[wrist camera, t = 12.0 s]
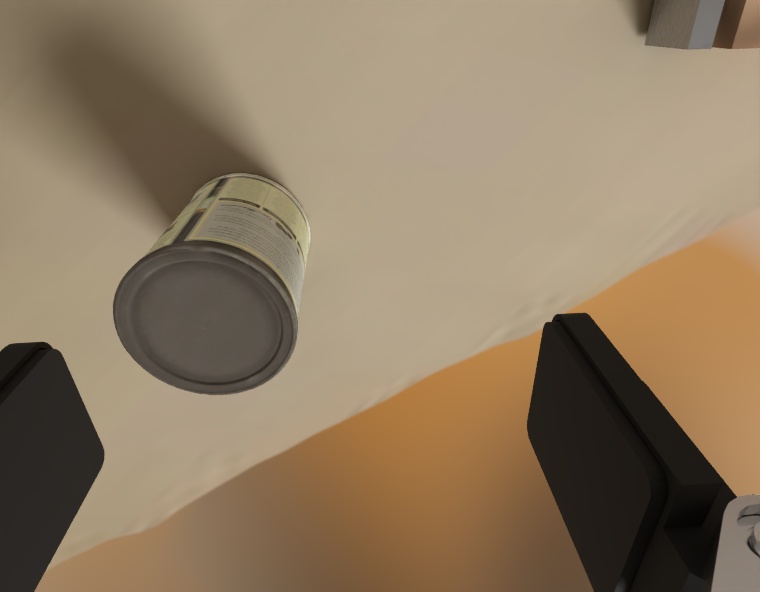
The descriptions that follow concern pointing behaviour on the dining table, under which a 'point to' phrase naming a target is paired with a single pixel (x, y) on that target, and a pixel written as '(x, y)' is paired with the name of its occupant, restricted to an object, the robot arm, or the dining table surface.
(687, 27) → the grey angular frame piece
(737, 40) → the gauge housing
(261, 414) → the dining table surface
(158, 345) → the coffee can
